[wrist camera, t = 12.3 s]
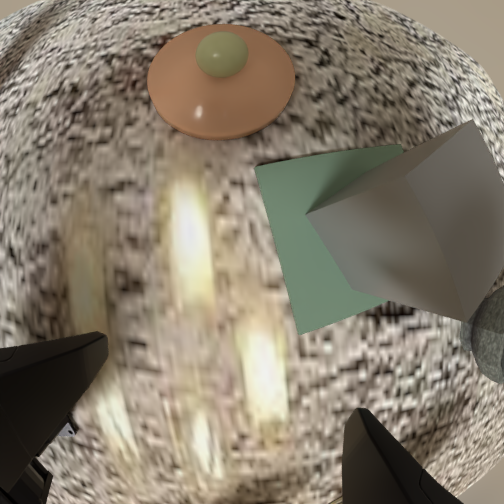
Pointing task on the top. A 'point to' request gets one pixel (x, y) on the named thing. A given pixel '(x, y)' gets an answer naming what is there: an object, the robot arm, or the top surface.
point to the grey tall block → (422, 226)
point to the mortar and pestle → (487, 336)
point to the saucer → (220, 81)
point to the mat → (306, 238)
